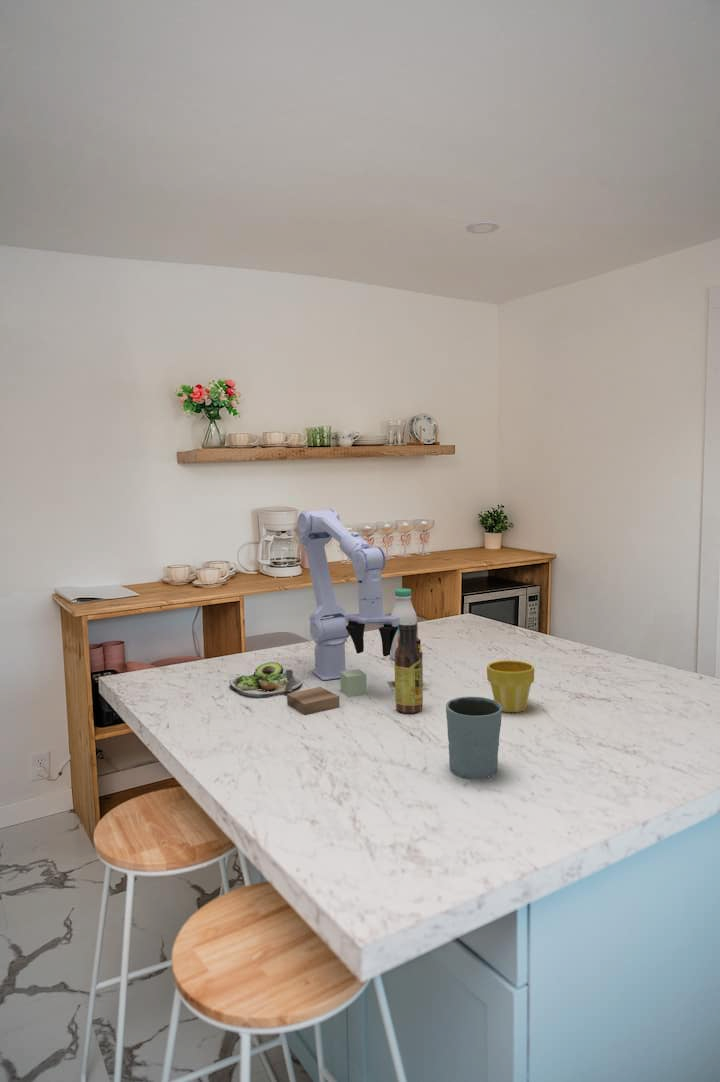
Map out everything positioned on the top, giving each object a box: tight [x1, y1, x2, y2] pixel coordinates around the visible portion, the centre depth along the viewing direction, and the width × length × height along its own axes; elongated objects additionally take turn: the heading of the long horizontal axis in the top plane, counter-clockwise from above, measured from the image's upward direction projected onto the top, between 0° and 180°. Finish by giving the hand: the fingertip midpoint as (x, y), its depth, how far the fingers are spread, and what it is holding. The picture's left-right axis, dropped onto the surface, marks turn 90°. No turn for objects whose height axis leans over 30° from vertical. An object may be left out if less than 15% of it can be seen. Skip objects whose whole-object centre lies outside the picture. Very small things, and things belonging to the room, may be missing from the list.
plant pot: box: [486, 659, 535, 714], centre depth 163 cm, size 10×10×10 cm
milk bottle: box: [390, 587, 419, 661], centre depth 206 cm, size 8×8×20 cm
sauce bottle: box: [394, 622, 424, 714], centre depth 163 cm, size 7×6×20 cm
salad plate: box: [229, 661, 303, 698], centre depth 183 cm, size 19×18×5 cm
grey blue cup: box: [445, 696, 503, 779], centre depth 131 cm, size 10×10×12 cm
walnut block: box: [286, 686, 341, 716], centre depth 169 cm, size 9×9×3 cm
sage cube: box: [339, 668, 368, 698], centre depth 177 cm, size 5×5×5 cm
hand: (373, 653), depth 174 cm, fingers open, 7 cm apart
